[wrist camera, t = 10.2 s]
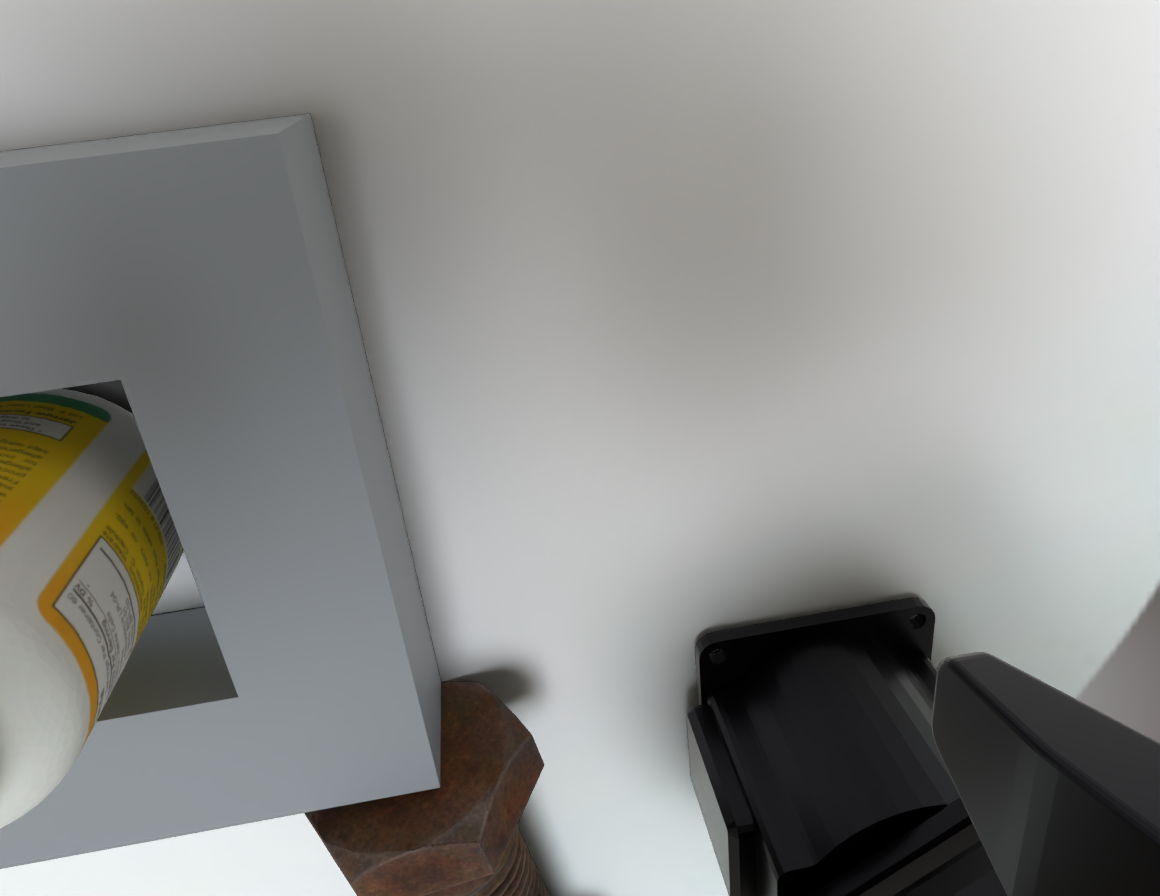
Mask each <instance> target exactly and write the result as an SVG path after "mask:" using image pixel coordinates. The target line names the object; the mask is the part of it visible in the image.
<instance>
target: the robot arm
mask: <svg viewBox="0 0 1160 896" xmlns="http://www.w3.org/2000/svg"><path fill="white" fill-rule="evenodd" d="M916 614H918V615H917V616H916V617H915V618H914V619H911V620H909V619H910V618H911V617H912V616H913V615H916ZM934 624H935V614H934V612H933V611H932V609H931V608H930V607H929V606H928V605H927V603H926V602H925V601H924V600H923V599H920V598H906V599H901V600H895V601H889V602H883V603H878V604H872V605H866V606H861V607H855V608H849V609H843V610H838V611H832V612H826V613H821V614H815V615H809V616H804V617H798V618H792V619H786V620H781V621H775V622H769V623H764V624H758V625H752V626H746V627H741V628H735V629H729V630H724V631H718V632H712V633H710V634H707V635H705V636H703V637H702V638H701V639H700V640H699V641H698V643H697V644H696V649H695V655H696V673H697V691H698V705H695V706H692V707H691V709H690V710H689V712H688V713H687V731H688V747H689V762H690V776H691V780H692V783H693V786H694V790H695V793H696V796H697V799H698V802H699V805H700V808H701V811H702V814H703V817H704V820H705V823H706V826H707V830H708V833H709V836H710V839H711V842H712V845H713V848H714V851H715V854H716V857H717V860H718V863H719V866H720V870H721V873H722V876H723V879H724V882H725V885H726V888H727V891H728V894H729V896H1160V743H1159V742H1157V741H1155V740H1153V739H1151V738H1150V737H1147V736H1146V735H1144V734H1142V733H1140V732H1138V731H1136V730H1134V729H1132V728H1130V727H1128V726H1126V725H1125V724H1123V723H1121V722H1119V721H1117V720H1115V719H1113V718H1111V717H1109V716H1107V715H1105V714H1103V713H1102V712H1100V711H1098V710H1096V709H1094V708H1092V707H1090V706H1088V705H1086V704H1084V703H1083V702H1081V701H1079V700H1077V699H1075V698H1073V697H1071V696H1069V695H1067V694H1065V693H1063V692H1062V691H1060V690H1058V689H1056V688H1054V687H1052V686H1050V685H1048V684H1046V683H1044V682H1042V681H1040V680H1039V679H1037V678H1035V677H1033V676H1031V675H1029V674H1027V673H1025V672H1023V671H1021V670H1019V669H1018V668H1016V667H1014V666H1012V665H1010V664H1008V663H1006V662H1004V661H1002V660H1000V659H998V658H996V657H995V656H992V655H990V654H988V653H984V652H975V653H969V654H964V655H958V656H953V657H948V658H945V659H943V660H942V661H941V662H940V664H939V666H938V669H937V668H936V667H935V666H934V665H933V663H932V662H931V653H932V643H933V634H934ZM717 649H722V650H721V651H720V652H719V653H717V654H715V655H709V654H710V653H711V652H712V651H714V650H717Z"/></svg>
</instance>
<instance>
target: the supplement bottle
mask: <svg viewBox="0 0 1160 896" xmlns="http://www.w3.org/2000/svg"><path fill="white" fill-rule="evenodd" d="M183 551H184V549H183V547H182V544H181V541H180V539H179V536H178V533H177V531H176V528H175V525H174V522H173V520H172V517H171V514H170V512H169V509H168V506H167V504H166V501H165V498H164V496H163V493H162V490H161V488H160V485H159V482H158V479H157V477H156V474H155V471H154V469H153V466H152V463H151V461H150V458H149V455H148V453H147V450H146V447H145V444H144V442H143V439H142V436H141V434H140V431H139V428H138V426H137V423H136V420H135V418H134V415H133V414H132V413H130V412H129V411H127V410H125V409H123V408H122V407H120V406H118V405H116V404H114V403H112V402H110V401H107V400H105V399H102V398H100V397H98V396H95V395H90V394H85V393H81V392H78V391H72V390H66V389H54V390H47V391H40V392H33V393H26V394H19V395H12V396H5V397H0V828H2V827H4V826H6V825H8V824H10V823H12V822H13V821H15V820H17V819H18V818H20V817H22V816H23V815H24V814H26V813H27V812H28V811H30V810H31V809H33V808H34V807H35V806H37V805H38V804H39V803H40V802H41V801H43V800H44V799H45V798H46V797H47V796H48V795H49V794H50V793H51V792H52V791H53V790H54V789H55V788H56V786H57V785H58V784H59V783H60V782H61V781H62V779H63V778H64V777H65V776H66V774H67V773H68V771H69V770H70V768H71V767H72V765H73V764H74V762H75V761H76V759H77V757H78V755H79V753H80V751H81V750H82V748H83V746H84V744H85V742H86V740H87V738H88V737H89V735H90V733H91V731H92V729H93V727H94V725H95V724H96V722H97V719H98V717H99V715H100V713H101V711H102V709H103V707H104V705H105V704H106V702H107V700H108V698H109V696H110V694H111V692H112V690H113V688H114V686H115V684H116V682H117V680H118V678H119V677H120V675H121V673H122V671H123V669H124V667H125V665H126V663H127V661H128V659H129V657H130V655H131V653H132V651H133V649H134V647H135V645H136V643H137V641H138V639H139V637H140V635H141V633H142V632H143V630H144V628H145V626H146V624H147V622H148V620H149V618H150V616H151V614H152V612H153V611H154V609H155V607H156V605H157V603H158V601H159V599H160V597H161V595H162V593H163V591H164V589H165V587H166V586H167V584H168V582H169V580H170V578H171V576H172V574H173V572H174V570H175V568H176V566H177V564H178V562H179V560H180V557H181V555H182V553H183Z"/></svg>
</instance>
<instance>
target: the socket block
mask: <svg viewBox="0 0 1160 896" xmlns="http://www.w3.org/2000/svg"><path fill="white" fill-rule="evenodd" d="M116 380H121V383H122V385H123V388H124V391H125V393H126V396H127V399H128V401H129V404H130V407H131V410H132V412H133V415H134V418H135V420H136V423H137V426H138V428H139V431H140V434H141V436H142V439H143V442H144V444H145V447H146V450H147V453H148V455H149V458H150V461H151V463H152V466H153V469H154V471H155V474H156V477H157V479H158V482H159V485H160V488H161V490H162V493H163V496H164V498H165V501H166V504H167V506H168V509H169V512H170V514H171V517H172V520H173V522H174V525H175V528H176V531H177V533H178V536H179V539H180V541H181V544H182V547H183V549H184V552H185V555H186V557H187V560H188V563H189V565H190V568H191V571H192V574H193V576H194V579H195V582H196V584H197V587H198V590H199V592H200V595H201V598H202V600H203V603H204V606H205V607H202V608H196V609H190V610H184V611H178V612H172V613H166V614H160V615H154V616H150V618H149V620H148V622H147V624H146V626H145V628H144V630H143V632H142V633H141V635H140V637H139V639H138V641H137V643H136V645H135V647H134V649H133V651H132V653H131V655H130V657H129V659H128V661H127V663H126V665H125V667H124V669H123V671H122V673H121V675H120V677H119V678H118V680H117V682H116V684H115V686H114V688H113V690H112V692H111V694H110V696H109V698H108V700H107V702H106V704H105V705H104V707H103V709H102V711H101V713H100V715H99V717H98V719H97V722H96V724H95V725H94V727H93V729H92V731H91V733H90V735H89V737H88V738H87V740H86V742H85V744H84V746H83V748H82V750H81V751H80V753H79V755H78V757H77V759H76V761H75V762H74V764H73V765H72V767H71V768H70V770H69V771H68V773H67V774H66V776H65V777H64V778H63V779H62V781H61V782H60V783H59V784H58V785H57V786H56V788H55V789H54V790H53V791H52V792H51V793H50V794H49V795H48V796H47V797H46V798H45V799H44V800H43V801H41V802H40V803H39V804H38V805H37V806H35V807H34V808H33V809H31V810H30V811H28V812H27V813H26V814H24V815H23V816H22V817H20V818H18V819H17V820H15V821H13V822H12V823H10V824H8V825H6V826H4V827H2V828H0V869H3V868H8V867H13V866H19V865H24V864H30V863H35V862H40V861H46V860H51V859H57V858H62V857H67V856H73V855H78V854H84V853H89V852H95V851H100V850H105V849H111V848H116V847H122V846H127V845H132V844H138V843H143V842H149V841H154V840H159V839H165V838H170V837H176V836H181V835H186V834H192V833H197V832H203V831H208V830H214V829H219V828H224V827H230V826H235V825H241V824H246V823H251V822H257V821H262V820H268V819H273V818H278V817H284V816H289V815H295V814H300V813H305V812H311V811H316V810H322V809H327V808H333V807H338V806H343V805H349V804H354V803H360V802H365V801H370V800H376V799H381V798H387V797H392V796H397V795H403V794H408V793H414V792H419V791H425V790H430V789H435V788H440V756H441V679H440V675H439V671H438V666H437V662H436V658H435V653H434V649H433V645H432V640H431V636H430V631H429V627H428V623H427V618H426V614H425V610H424V605H423V601H422V597H421V592H420V588H419V584H418V579H417V575H416V571H415V566H414V562H413V558H412V553H411V549H410V545H409V540H408V536H407V532H406V527H405V523H404V518H403V514H402V510H401V505H400V501H399V497H398V492H397V488H396V484H395V479H394V475H393V471H392V466H391V462H390V458H389V453H388V449H387V445H386V440H385V436H384V432H383V427H382V423H381V418H380V414H379V410H378V405H377V401H376V397H375V392H374V388H373V384H372V379H371V375H370V371H369V366H368V362H367V358H366V353H365V349H364V345H363V340H362V336H361V332H360V327H359V323H358V318H357V314H356V310H355V305H354V301H353V297H352V292H351V288H350V284H349V279H348V275H347V271H346V266H345V262H344V258H343V253H342V249H341V245H340V240H339V236H338V232H337V227H336V223H335V219H334V214H333V210H332V205H331V201H330V197H329V192H328V188H327V184H326V179H325V175H324V171H323V166H322V162H321V158H320V153H319V149H318V145H317V140H316V136H315V132H314V127H313V123H312V119H311V114H303V115H295V116H286V117H278V118H270V119H262V120H254V121H246V122H238V123H229V124H221V125H213V126H205V127H197V128H189V129H181V130H172V131H164V132H156V133H148V134H140V135H132V136H123V137H115V138H107V139H99V140H91V141H83V142H75V143H66V144H58V145H50V146H42V147H34V148H26V149H18V150H9V151H1V152H0V397H5V396H12V395H19V394H26V393H33V392H40V391H47V390H54V389H61V388H68V387H75V386H82V385H89V384H96V383H103V382H109V381H116Z"/></svg>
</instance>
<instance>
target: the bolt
mask: <svg viewBox="0 0 1160 896" xmlns="http://www.w3.org/2000/svg"><path fill="white" fill-rule="evenodd" d="M543 767H544V763H543V760H542V758H541V755H540V753H539V751H538V748H537V746H536V744H535V741H534V739H533V736H532V735H531V733H530V732H529V731H528V730H527V729H526V727H525V726H524V725H523V724H522V723H521V722H520V720H519V719H518V718H517V717H516V716H515V715H514V714H513V713H512V712H511V711H510V710H509V709H508V708H507V707H506V706H505V705H504V704H503V703H502V702H501V701H500V700H499V699H498V698H497V697H496V696H495V695H494V694H492V693H491V692H490V691H489V690H488V689H487V688H485V687H484V686H482V685H481V684H479V683H476V682H474V681H449V682H441V756H440V788H435V789H430V790H425V791H419V792H414V793H408V794H403V795H397V796H392V797H387V798H381V799H376V800H370V801H365V802H360V803H354V804H349V805H343V806H338V807H333V808H327V809H322V810H316V811H311V812H305V815H306V817H307V818H308V820H309V821H310V823H311V824H312V826H313V827H314V829H315V831H316V832H317V834H318V835H319V837H320V838H321V840H322V841H323V843H324V845H325V846H326V848H327V849H328V851H329V853H330V854H331V856H332V857H333V859H334V860H335V862H336V863H337V865H338V867H339V868H340V870H341V871H342V873H343V874H344V876H345V877H346V879H347V881H348V882H349V884H350V885H351V887H352V888H353V890H354V891H355V893H356V894H357V896H549V895H548V893H547V890H546V888H545V886H544V884H543V882H542V880H541V878H540V876H539V873H538V871H537V868H536V866H535V864H534V862H533V860H532V858H531V856H530V852H529V851H528V849H527V847H526V844H525V842H524V840H523V837H522V835H521V833H520V832H519V828H518V827H517V824H518V822H519V820H520V817H521V815H522V813H523V811H524V809H525V806H526V804H527V802H528V800H529V798H530V795H531V793H532V791H533V789H534V787H535V784H536V782H537V780H538V778H539V776H540V774H541V771H542V769H543Z"/></svg>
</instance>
